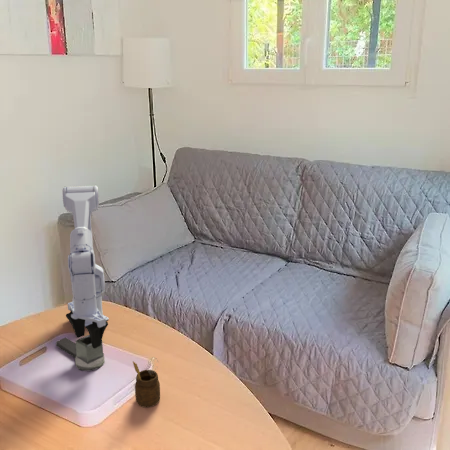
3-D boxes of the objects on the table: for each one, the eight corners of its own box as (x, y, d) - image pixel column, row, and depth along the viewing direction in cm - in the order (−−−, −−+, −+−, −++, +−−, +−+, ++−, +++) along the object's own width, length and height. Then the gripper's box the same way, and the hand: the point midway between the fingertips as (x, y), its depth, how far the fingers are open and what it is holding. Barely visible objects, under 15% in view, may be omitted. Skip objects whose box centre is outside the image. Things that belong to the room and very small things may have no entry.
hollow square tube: (76, 357, 138) (75, 340, 136) (92, 349, 142) (91, 333, 140) (87, 364, 135) (86, 347, 133) (103, 356, 138) (102, 340, 137)
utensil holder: (165, 400, 123) (164, 357, 120) (143, 412, 119) (141, 367, 116) (151, 389, 128) (149, 347, 124) (129, 400, 123) (127, 357, 120)
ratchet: (49, 348, 145) (47, 335, 144) (72, 338, 150) (71, 325, 149) (86, 374, 134) (85, 359, 132) (110, 362, 139) (109, 348, 138)
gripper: (55, 292, 134) (60, 337, 138) (87, 309, 125) (91, 357, 129) (79, 283, 139) (82, 327, 143) (111, 300, 130) (114, 346, 134)
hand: (88, 341), depth 137 cm, fingers open, 7 cm apart
